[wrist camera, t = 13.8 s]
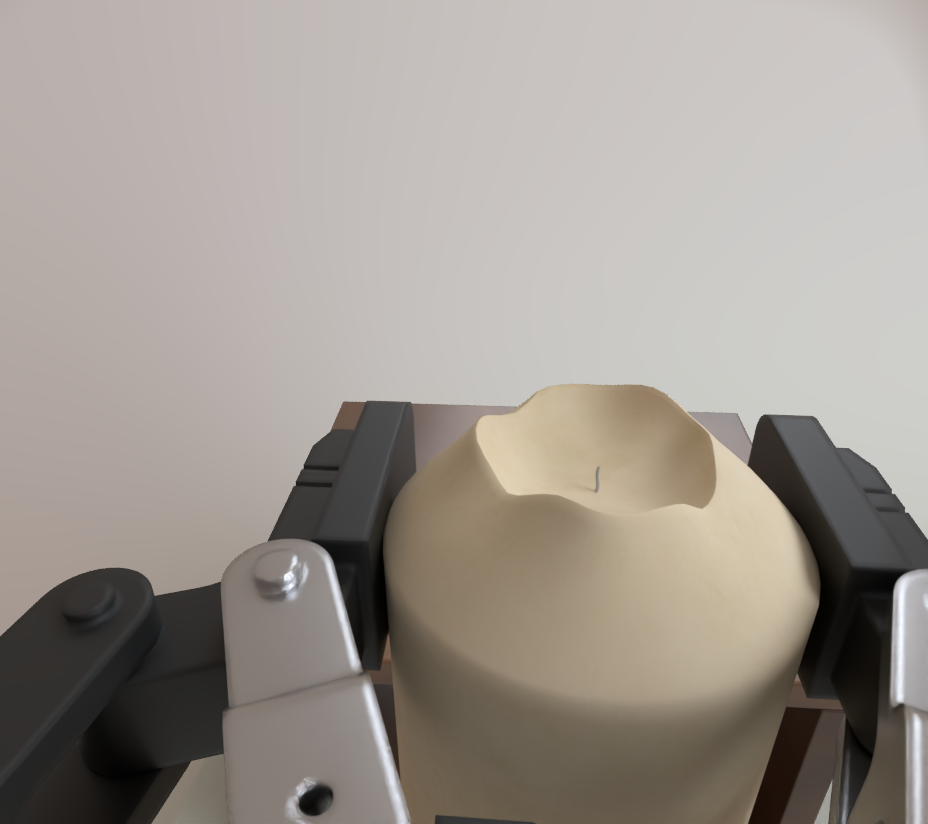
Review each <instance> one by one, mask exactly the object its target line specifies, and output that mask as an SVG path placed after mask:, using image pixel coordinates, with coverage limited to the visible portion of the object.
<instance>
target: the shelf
mask: <svg viewBox="0 0 928 824" xmlns="http://www.w3.org/2000/svg"><path fill="white" fill-rule="evenodd" d="M365 403H366V402H343V404H342V406H341V408H340V411H339V413H338V416H337V418H336V420H335V422H334V424H333V427H332V429H331V431H332V430H333V429H348V430H355V427H356V425H357V422H358V420H359V417H360V415H361V412H362V410H363V407H364V405H365ZM412 407H413V415H414V434H415V454H416V472H417V471H418V470H419V469H420V468H422V467H423V466H424V465H425V464H426V463H428V462H429V461H430V460H431V459H433V458H434V457H435V456H436V455H437V454H439V453H440V452H441V451H442V450H444V449H445V448H446V447H448V446H449V445H451V444H452V443H453V442H455V441H456V440H457V439H459V438H460V437H461V436H462V435H463V434H464V433H466V432H467V431H468V430H469V429H470V427H471V426H472V425H473V424H474V423H475V422H476V421H477V420H478V419H479V418H480V417H482V416H486V415H504V414H506V413H508V412H510V411H512V410H514V409H515V408H517V407H509V406H508V407H507V406H475V405H473V406H472V405H441V404H412ZM687 413H688V414H689V415H691V416H692V417H693V418H694V419H695V420H696V421H697V422H699V423H700V424H701V425H702V426H704V427H705V428H706V429H707V430H708V431H709V432H710V433H711V434H712V435H713V436H714V437H715V438H716V439H717V440H718V441H719V442H720V443H722V444H723V445H724V446H725V447H726V448H727V449H729V450H730V451H731V452H732V453H733V454H734V455H736V456H737V457H738V458H739V459H740V460H741V461H742V462H744V463H745V464H746V465H748V461H749V457H750V452H751V448H752V443H751V441H750V439H749V437H748V435H747V433H746V431H745V428H744V426H743V424H742V422H741V421H740V418H739V416H738V414H736V413H710V412H708V413H707V412H687ZM331 431H330V432H331ZM363 671H366V670H363ZM367 671H368V673H369V675H370V677H371V680H372V683H373V687H374V690H375V694H376V697H377V701H378V704H379V708H380V711H381V715H382V719H383V722H384V726H385V729H386V733H387V736H388V740H389V744H390V747H391V751H392V754H393V758H394V761H395V765H396V769H397V772H398V776H399V779H400V767H399V754H398V742H397V729H396V716H395V703H394V690H393V677H392V665H391V652H390V639H389V633H388V638H387V643H386V647H385V652H384V656H383V661H382V665H381V670H380V671H372V670H367ZM844 715H845V712H844V710H843V708H842V705H841V703H840V701H839V700H828V699H812V698H807V697H806V695H805V692H804V689H803V687H802V684H801V682H800V679H799V676H798V674H797V675H796V678H795V681H794V684H793V687H792V690H791V693H790V696H789V699H788V702H787V706H786V709H785V712H784V715H783V718H782V721H781V724H780V727H779V730H778V733H777V736H776V739H775V742H774V745H773V748H772V751H771V754H770V758H769V761H768V764H767V767H766V770H765V773H764V776H763V779H762V782H761V785H760V788H759V791H758V794H757V797H756V800H755V803H754V806H753V809H752V813H751V816H750V819H749V822H748V824H814V822H815V820H816V818H817V815H818V813H819V810H820V808H821V805H822V803H823V801H824V798H825V796H826V793H827V791H828V789H829V786H830V784H831V781H832V779H833V772H834V762H835V752H836V741H837V735H838V730H839V728H840V725H841V723H842V720H843V717H844ZM400 783H401V780H400Z"/></svg>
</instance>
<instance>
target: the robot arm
mask: <svg viewBox="0 0 928 824" xmlns="http://www.w3.org/2000/svg"><path fill="white" fill-rule="evenodd" d="M747 466H748V467H749V468H750V469H751V470H752V471H753V472H754V473H755V474H756V475H757V476H758V477H759V478H760V479H761V480H762V481H763V482H764V483H765V484H766V485H767V486H768V488H769V489H770V490H771V491H772V492H773V493H774V494H775V495H776V496H777V497H778V498H779V499H780V501H781V502H782V503H783V504H784V505H785V507H786V508H787V509H788V510H789V512H790V513H791V514H792V516H793V517H794V518H795V520H796V521H797V522H798V524H799V525H800V526H801V528H802V530H803V532H804V534H805V536H806V538H807V539H808V541H809V543H810V545H811V548H812V550H813V553H814V555H815V558H816V561H817V564H818V568H819V576H820V584H821V587H820V599H819V607H818V610H817V613H816V616H815V619H814V622H813V626H812V629H811V632H810V635H809V638H808V641H807V644H806V647H805V650H804V653H803V656H802V660H801V663H800V666H799V669H798V672H797V674H798V676H799V679H800V682H801V684H802V687H803V689H804V692H805V695H806V697H807V698H812V699H828V700H839V701H840V703H841V705H842V708H843V710H844V712H845V715H844V717H843V720H842V723H841V725H840V728H839V730H838V735H837V741H836V752H835V762H834V772H833V782H832V792H831V802H830V812H829V822H828V824H928V540H927V538H926V537H925V535H924V534H923V533H922V531H921V530H920V528H919V527H918V526H917V524H916V523H915V521H914V520H913V519H912V517H911V516H910V514H909V513H905V507H904V506H903V505H902V503H901V502H900V501H899V499H898V498H897V496H896V495H895V494H892V489H891V488H890V487H889V485H888V484H887V482H886V481H885V480H884V478H883V477H882V475H881V474H880V473H879V471H878V470H877V468H876V467H874V466H873V465H871V464H870V463H869V462H867V461H866V460H864V459H863V458H861V457H860V456H859V455H857V454H856V453H854V452H853V451H852V450H850V449H849V448H836V447H835V446H834V444H833V443H832V441H831V440H830V438H829V437H828V435H827V434H826V432H825V430H824V429H823V427H822V426H821V425H820V423H819V421H818V420H817V419H816V418H815V417H813V416H794V415H763V416H761V418H760V419H759V422H758V424H757V427H756V430H755V435H754V439H753V443H752V448H751V452H750V457H749V461H748V465H747ZM415 473H416V454H415V434H414V415H413V407H412V403H411V402H390V401H367V402H366V403H365V405H364V407H363V410H362V412H361V415H360V417H359V420H358V422H357V425H356V427H355V430H348V429H333V430H332V431H331V432H330V433H328V434H327V435H326V436H325V437H323V438H322V439H321V440H320V441H318V442H317V443H316V444H315V445H313V447H312V449H311V451H310V453H309V455H308V457H307V460H306V462H305V464H304V469H303V470H301V472H300V475H299V476H298V479H297V481H296V486H294V487H293V489H292V491H291V493H290V495H289V497H288V500H287V502H286V504H285V506H284V508H283V510H282V512H281V514H280V516H279V518H278V521H277V523H276V525H275V527H274V529H273V531H272V533H271V535H270V537H269V539H268V541H267V542H265V543H262V544H259V545H257V546H254V547H252V548H250V549H248V550H246V551H245V552H243V553H242V554H240V555H239V556H238V557H237V558H235V559H234V560H233V561H232V562H231V563H230V565H229V566H228V567H227V568H226V570H225V572H224V574H223V577H222V580H221V582H218V583H215V584H212V585H209V586H205V587H200V588H196V589H190V590H185V591H179V592H174V593H168V594H163V595H158V596H154V593H153V589H152V586H151V583H150V582H149V580H148V579H147V578H146V577H145V576H144V575H143V574H141V573H139V572H137V571H134V570H130V569H125V568H105V569H98V570H94V571H89V572H86V573H83V574H80V575H77V576H75V577H73V578H70V579H68V580H66V581H65V582H63V583H61V584H59V585H58V586H56V587H55V588H53V589H52V590H50V591H49V592H48V593H46V594H45V595H44V596H43V597H42V598H41V599H40V600H39V601H38V602H36V603H35V604H34V605H33V606H32V607H31V608H30V609H29V610H28V611H27V612H26V613H25V614H24V615H23V616H22V617H21V618H19V619H18V620H17V621H16V622H15V623H14V624H13V625H12V626H11V627H10V628H9V629H8V630H7V631H6V632H5V633H3V634H2V635H1V636H0V824H151V823H152V822H153V820H154V819H155V817H156V815H157V814H158V812H159V811H160V809H161V808H162V806H163V805H164V803H165V802H166V800H167V798H168V797H169V795H170V793H171V792H172V791H173V789H174V788H175V786H176V785H177V783H178V781H179V780H180V778H181V777H182V775H183V773H184V772H185V771H186V769H187V767H188V766H189V764H190V762H191V761H193V760H197V759H202V758H206V757H210V756H214V755H218V754H223V753H224V760H225V777H226V794H227V811H228V824H412V822H411V818H410V815H409V811H408V808H407V804H406V801H405V797H404V794H403V790H402V786H401V783H400V779H399V776H398V772H397V769H396V765H395V761H394V758H393V754H392V751H391V747H390V744H389V740H388V736H387V733H386V729H385V726H384V722H383V719H382V715H381V711H380V708H379V704H378V701H377V697H376V694H375V690H374V687H373V683H372V680H371V677H370V675H369V673H368V671H367V670H372V671H380V670H381V665H382V661H383V656H384V652H385V647H386V643H387V638H388V633H389V626H388V613H387V600H386V587H385V574H384V561H383V534H384V529H385V526H386V522H387V518H388V514H389V511H390V508H391V506H392V504H393V501H394V499H395V498H396V496H397V495H398V493H399V492H400V490H401V489H402V487H403V486H404V485H405V484H406V482H407V481H408V480H409V479H410V478H411V477H412V476H413V475H414V474H415ZM363 670H366V671H363ZM435 824H536V823H533V822H524V821H511V820H497V819H484V818H470V817H457V816H444V815H436V816H435Z"/></svg>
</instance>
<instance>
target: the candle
mask: <svg viewBox="0 0 928 824" xmlns="http://www.w3.org/2000/svg"><path fill="white" fill-rule="evenodd" d="M383 561H384V574H385V587H386V600H387V613H388V626H389V639H390V652H391V665H392V677H393V690H394V703H395V716H396V729H397V742H398V754H399V767H400V780H401V786H402V790H403V794H404V797H405V801H406V804H407V808H408V811H409V815H410V818H411V822H412V824H435V816H436V815H444V816H457V817H470V818H484V819H497V820H511V821H524V822H533V823H536V824H748V822H749V819H750V816H751V813H752V809H753V806H754V803H755V800H756V797H757V794H758V791H759V788H760V785H761V782H762V779H763V776H764V773H765V770H766V767H767V764H768V761H769V758H770V754H771V751H772V748H773V745H774V742H775V739H776V736H777V733H778V730H779V727H780V724H781V721H782V718H783V715H784V712H785V709H786V706H787V702H788V699H789V696H790V693H791V690H792V687H793V684H794V681H795V678H796V675H797V672H798V669H799V666H800V663H801V660H802V656H803V653H804V650H805V647H806V644H807V641H808V638H809V635H810V632H811V629H812V626H813V622H814V619H815V616H816V613H817V610H818V607H819V599H820V587H821V584H820V576H819V568H818V564H817V561H816V558H815V555H814V553H813V550H812V548H811V545H810V543H809V541H808V539H807V538H806V536H805V534H804V532H803V530H802V528H801V526H800V525H799V524H798V522H797V521H796V520H795V518H794V517H793V516H792V514H791V513H790V512H789V510H788V509H787V508H786V507H785V505H784V504H783V503H782V502H781V501H780V499H779V498H778V497H777V496H776V495H775V494H774V493H773V492H772V491H771V490H770V489H769V488H768V486H767V485H766V484H765V483H764V482H763V481H762V480H761V479H760V478H759V477H758V476H757V475H756V474H755V473H754V472H753V471H752V470H751V469H750V468H749V467H748V466H747V465H746V464H745V463H744V462H742V461H741V460H740V459H739V458H738V457H737V456H736V455H734V454H733V453H732V452H731V451H730V450H729V449H727V448H726V447H725V446H724V445H723V444H722V443H720V442H719V441H718V440H717V439H716V438H715V437H714V436H713V435H712V434H711V433H710V432H709V431H708V430H707V429H706V428H705V427H704V426H702V425H701V424H700V423H699V422H697V421H696V420H695V419H694V418H693V417H692V416H691V415H689V414H688V413H687V412H686V411H685V410H684V409H683V408H682V407H681V406H680V405H679V404H678V403H676V402H675V401H674V400H673V399H672V398H670V397H669V396H668V395H667V394H665V393H663V392H661V391H659V390H657V389H655V388H653V387H648V386H643V385H589V384H566V385H556V386H550V387H547V388H545V389H543V390H540V391H538V392H536V393H535V394H534V395H533V396H531V397H530V398H529V399H528V400H526V401H525V402H524V403H522V404H521V405H519V406H518V407H517V408H515V409H514V410H512V411H510V412H508V413H506V414H504V415H486V416H482V417H480V418H479V419H478V420H477V421H476V422H475V423H474V424H473V425H472V426H471V427H470V429H469V430H468V431H467V432H466V433H464V434H463V435H462V436H461V437H460V438H459V439H457V440H456V441H455V442H453V443H452V444H451V445H449V446H448V447H446V448H445V449H444V450H442V451H441V452H440V453H439V454H437V455H436V456H435V457H434V458H433V459H431V460H430V461H429V462H428V463H426V464H425V465H424V466H423V467H422V468H420V469H419V470H418V471H417V472H416V473H415V474H414V475H413V476H412V477H411V478H410V479H409V480H408V481H407V482H406V484H405V485H404V486H403V487H402V489H401V490H400V492H399V493H398V495H397V496H396V498H395V499H394V501H393V504H392V506H391V508H390V511H389V514H388V518H387V522H386V526H385V529H384V534H383Z"/></svg>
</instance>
